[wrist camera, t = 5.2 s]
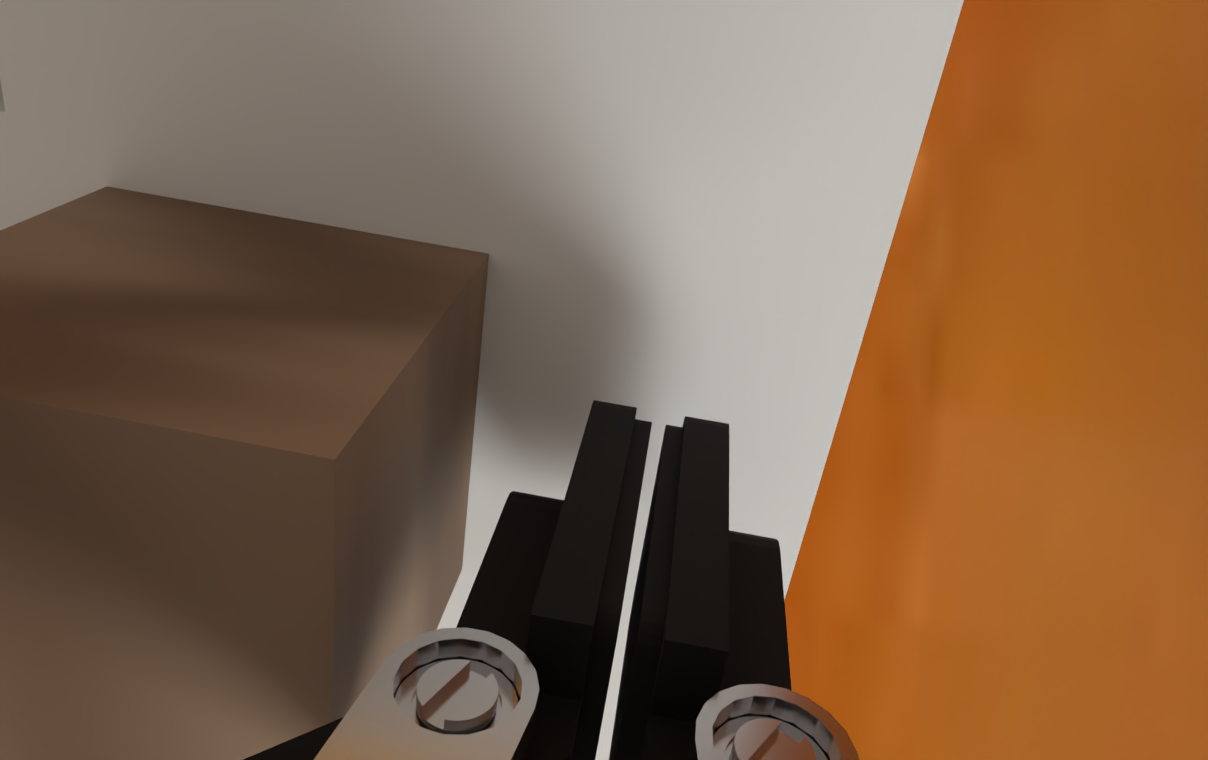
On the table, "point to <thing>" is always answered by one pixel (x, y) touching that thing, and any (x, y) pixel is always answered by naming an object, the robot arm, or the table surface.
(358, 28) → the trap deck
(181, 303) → the walnut block
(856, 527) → the table surface
